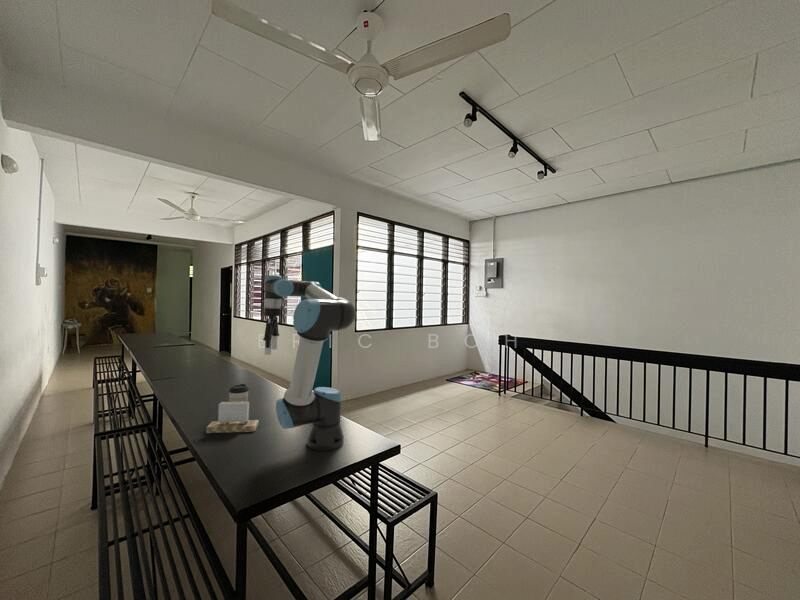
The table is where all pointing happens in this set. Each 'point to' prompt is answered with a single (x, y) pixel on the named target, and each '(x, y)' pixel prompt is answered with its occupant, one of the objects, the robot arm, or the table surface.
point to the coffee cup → (238, 393)
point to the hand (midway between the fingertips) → (271, 351)
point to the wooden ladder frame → (232, 427)
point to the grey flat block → (233, 412)
